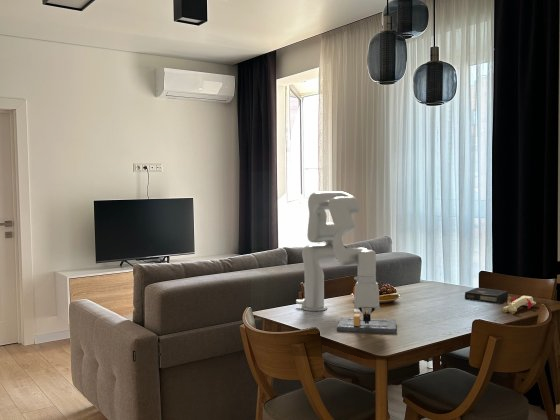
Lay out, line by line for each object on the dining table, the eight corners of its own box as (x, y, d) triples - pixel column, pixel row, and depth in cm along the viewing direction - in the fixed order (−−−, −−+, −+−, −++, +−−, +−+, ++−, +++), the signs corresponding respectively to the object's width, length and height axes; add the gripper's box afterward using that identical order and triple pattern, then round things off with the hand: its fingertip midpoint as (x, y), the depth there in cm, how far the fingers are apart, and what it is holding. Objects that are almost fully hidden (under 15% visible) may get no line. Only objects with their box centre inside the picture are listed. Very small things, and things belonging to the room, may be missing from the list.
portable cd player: (464, 300, 292) (464, 292, 292) (477, 294, 305) (477, 287, 305) (496, 304, 282) (496, 296, 282) (507, 298, 295) (507, 291, 294)
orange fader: (353, 325, 233) (353, 316, 233) (354, 323, 237) (354, 313, 237) (359, 326, 232) (359, 316, 232) (360, 323, 237) (360, 313, 237)
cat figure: (518, 318, 257) (540, 304, 275) (518, 299, 256) (539, 287, 274) (497, 314, 264) (519, 301, 282) (497, 296, 264) (519, 284, 281)
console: (337, 331, 233) (337, 326, 233) (340, 321, 249) (340, 317, 249) (395, 333, 228) (395, 328, 228) (395, 323, 244) (395, 319, 244)
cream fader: (353, 320, 242) (353, 311, 242) (354, 317, 246) (354, 308, 246) (359, 320, 241) (359, 311, 241) (360, 318, 246) (360, 308, 246)
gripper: (347, 280, 231) (348, 324, 232) (384, 281, 228) (384, 326, 229) (349, 277, 238) (349, 320, 239) (385, 278, 235) (385, 321, 236)
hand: (366, 322), depth 234 cm, fingers closed
